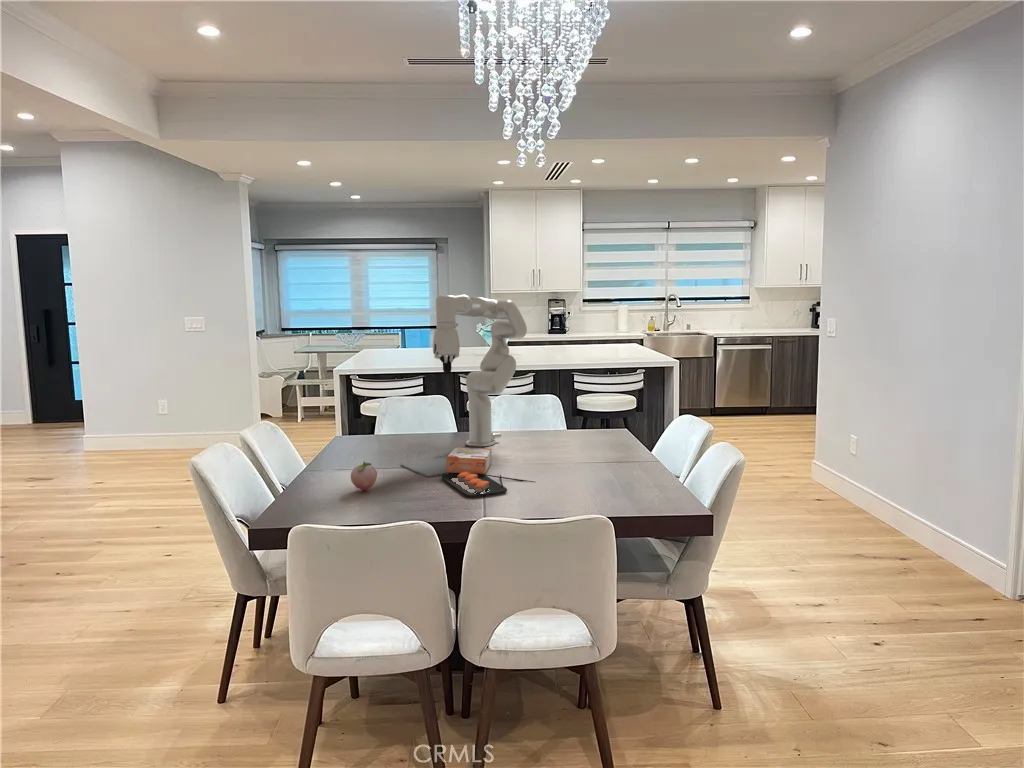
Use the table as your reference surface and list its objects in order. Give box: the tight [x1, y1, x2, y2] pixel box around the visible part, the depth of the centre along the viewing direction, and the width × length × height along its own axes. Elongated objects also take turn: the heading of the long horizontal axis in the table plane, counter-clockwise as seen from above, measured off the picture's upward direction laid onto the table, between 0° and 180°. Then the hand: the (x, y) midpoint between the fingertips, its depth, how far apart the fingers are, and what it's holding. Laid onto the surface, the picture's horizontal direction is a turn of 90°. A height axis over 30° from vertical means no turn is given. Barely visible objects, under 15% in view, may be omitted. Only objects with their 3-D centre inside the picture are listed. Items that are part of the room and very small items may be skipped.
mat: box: [400, 456, 453, 478], centre depth 262 cm, size 22×22×1 cm
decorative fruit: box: [350, 461, 378, 492], centre depth 230 cm, size 9×8×10 cm
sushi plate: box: [441, 472, 535, 497], centre depth 239 cm, size 29×30×4 cm
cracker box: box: [446, 446, 492, 474], centre depth 257 cm, size 14×6×21 cm
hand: (447, 372), depth 281 cm, fingers closed
